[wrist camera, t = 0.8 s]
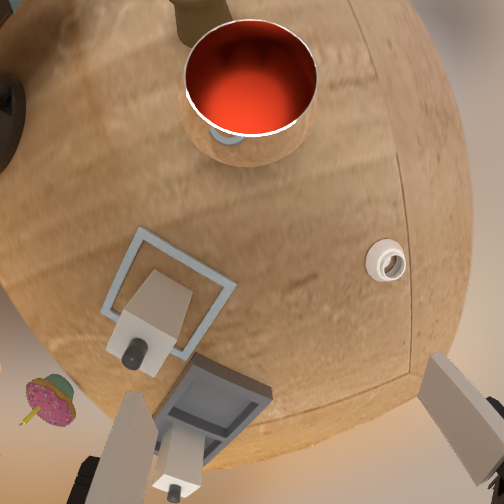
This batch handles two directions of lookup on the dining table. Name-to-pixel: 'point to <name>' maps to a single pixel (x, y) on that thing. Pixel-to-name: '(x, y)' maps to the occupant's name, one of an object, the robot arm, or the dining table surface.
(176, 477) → the white plug
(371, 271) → the white short tapered ring
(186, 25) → the cork
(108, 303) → the square frame
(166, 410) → the two-slot grey rack
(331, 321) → the dining table surface
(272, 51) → the wineglass
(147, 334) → the white block with peg
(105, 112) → the dining table surface
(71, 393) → the cupcake
